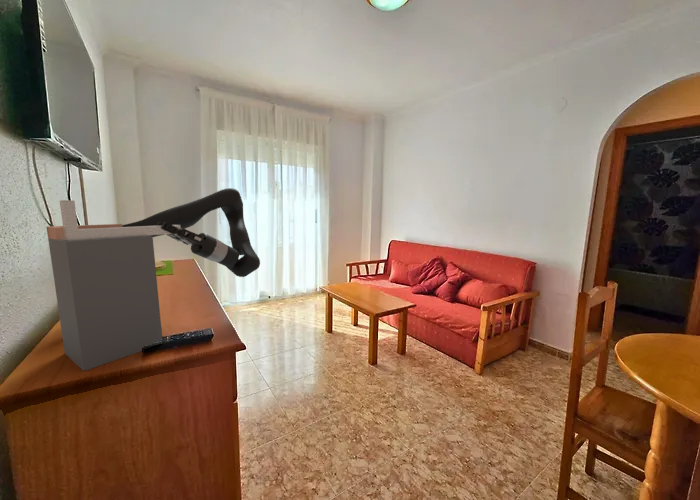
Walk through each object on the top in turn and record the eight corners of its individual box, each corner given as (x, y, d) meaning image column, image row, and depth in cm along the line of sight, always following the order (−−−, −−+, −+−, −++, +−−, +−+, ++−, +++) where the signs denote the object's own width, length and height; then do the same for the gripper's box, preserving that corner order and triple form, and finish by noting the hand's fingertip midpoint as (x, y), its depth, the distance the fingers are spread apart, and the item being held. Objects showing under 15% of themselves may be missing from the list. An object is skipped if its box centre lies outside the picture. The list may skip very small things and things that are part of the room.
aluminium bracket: (64, 240, 72) (59, 200, 71) (176, 232, 93) (173, 202, 92) (68, 240, 70) (63, 200, 69) (180, 233, 92) (178, 202, 90)
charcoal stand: (64, 353, 81) (46, 226, 77) (139, 331, 96) (128, 223, 91) (83, 371, 73) (64, 228, 68) (162, 343, 87) (151, 225, 82)
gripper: (203, 237, 106) (155, 213, 93) (226, 239, 99) (177, 214, 85) (194, 256, 104) (143, 235, 91) (217, 260, 96) (165, 237, 83)
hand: (160, 225), depth 88 cm, fingers closed on aluminium bracket, 3 cm apart
